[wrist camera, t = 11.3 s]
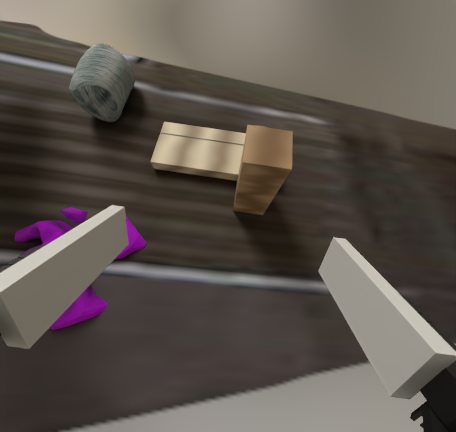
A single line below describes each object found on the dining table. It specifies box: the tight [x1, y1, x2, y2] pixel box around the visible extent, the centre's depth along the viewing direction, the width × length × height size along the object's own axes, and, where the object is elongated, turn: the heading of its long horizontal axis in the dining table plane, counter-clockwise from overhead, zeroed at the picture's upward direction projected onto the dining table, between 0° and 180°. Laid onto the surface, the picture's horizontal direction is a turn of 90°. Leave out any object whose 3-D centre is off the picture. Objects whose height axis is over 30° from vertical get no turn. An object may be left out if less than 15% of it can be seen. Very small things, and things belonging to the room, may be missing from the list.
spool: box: [69, 43, 135, 122], centre depth 34 cm, size 14×10×10 cm
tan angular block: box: [233, 125, 293, 215], centre depth 27 cm, size 5×13×13 cm, turn 172°
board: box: [151, 122, 246, 181], centre depth 33 cm, size 22×9×2 cm, turn 82°
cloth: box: [14, 207, 146, 330], centre depth 25 cm, size 22×19×6 cm
